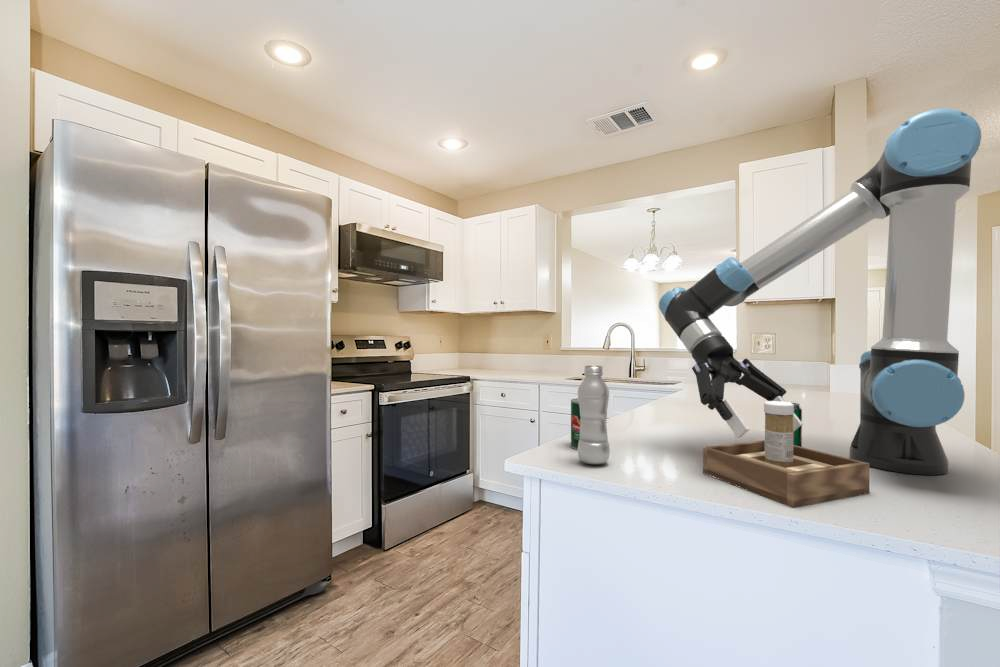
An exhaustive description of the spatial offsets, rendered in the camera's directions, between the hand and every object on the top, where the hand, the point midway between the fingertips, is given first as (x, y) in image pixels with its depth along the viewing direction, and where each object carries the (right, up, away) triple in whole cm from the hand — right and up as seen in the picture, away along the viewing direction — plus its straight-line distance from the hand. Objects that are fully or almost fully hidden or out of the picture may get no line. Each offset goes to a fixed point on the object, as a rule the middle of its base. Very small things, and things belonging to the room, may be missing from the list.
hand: (771, 431), depth 83 cm
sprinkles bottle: (0, -8, -2) cm, 8 cm away
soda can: (+11, -9, +13) cm, 20 cm away
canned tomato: (-29, -9, +24) cm, 38 cm away
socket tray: (+1, -9, -1) cm, 9 cm away
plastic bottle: (-30, -9, +10) cm, 33 cm away
